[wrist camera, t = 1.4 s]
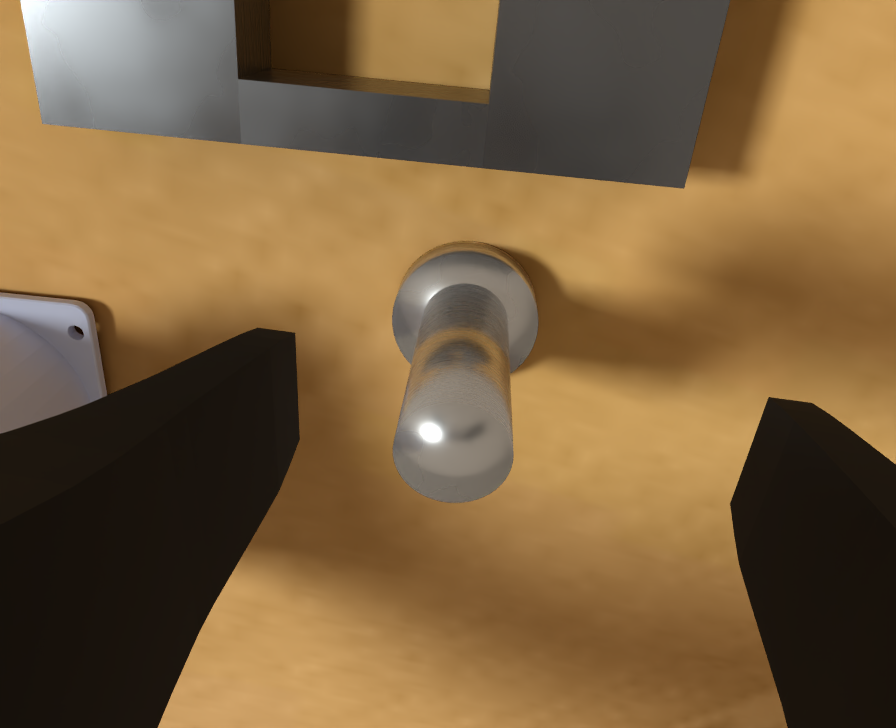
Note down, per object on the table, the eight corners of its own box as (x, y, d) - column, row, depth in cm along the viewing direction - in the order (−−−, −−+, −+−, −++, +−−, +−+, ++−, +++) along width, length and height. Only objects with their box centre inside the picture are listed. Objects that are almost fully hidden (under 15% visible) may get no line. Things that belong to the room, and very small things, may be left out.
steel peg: (526, 376, 23) (539, 543, 16) (394, 362, 23) (349, 523, 16) (546, 248, 21) (571, 376, 14) (400, 233, 21) (353, 354, 14)
